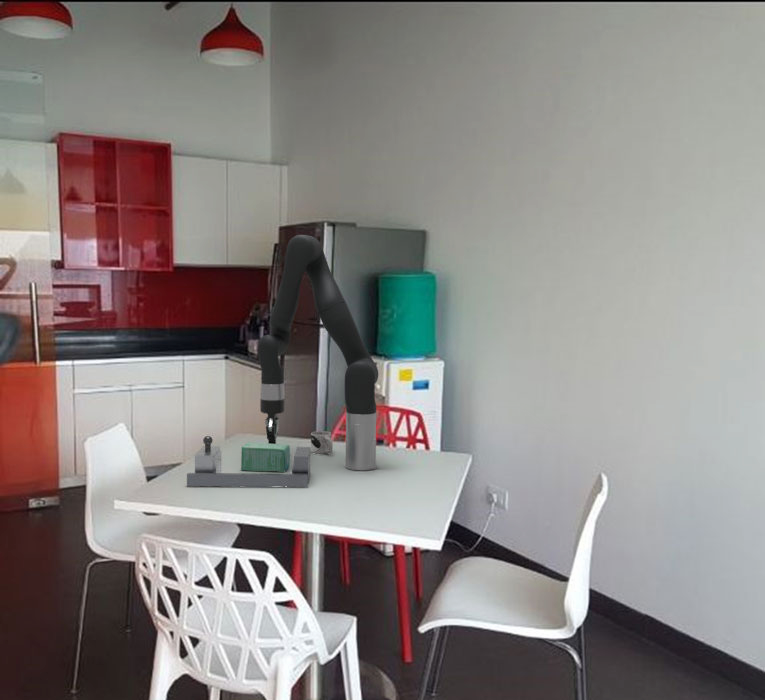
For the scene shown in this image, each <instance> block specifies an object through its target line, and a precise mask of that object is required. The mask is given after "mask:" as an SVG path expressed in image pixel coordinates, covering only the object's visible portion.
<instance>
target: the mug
mask: <svg viewBox="0 0 765 700" xmlns="http://www.w3.org/2000/svg"><path fill="white" fill-rule="evenodd" d="M333 445H334V444H333V440H332V432H331V431H325V430H318V431H317V430H316V431H312V432H311V433H310V447H311V452H312V453H315V454H326V455H329V454H328V453H330V454H332V453H333ZM312 453H311V454H312ZM315 454H314V455H315Z"/></svg>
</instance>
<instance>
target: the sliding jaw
mask: <svg viewBox="0 0 765 700" xmlns="http://www.w3.org/2000/svg"><path fill="white" fill-rule="evenodd" d="M203 444H204V445H203V446H202V447H201V448H200V449H199V450H198V451H197V453H195V454H194V473H222V471H223V470H222V469H223V467H222V465H223V464H222V463H223V462H222V458H223V457H222V453H223V451H222V450H221V446H213V445H211V444H213V437H212V436H210V435H207V436H204V437H203Z"/></svg>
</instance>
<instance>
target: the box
mask: <svg viewBox="0 0 765 700" xmlns="http://www.w3.org/2000/svg"><path fill="white" fill-rule="evenodd" d="M290 447H291V446H290V444H286V443H285V444H283V443H276V444H269V443H266V442H247V443H246V444H244V445H242V446H241V464H240V466H241V467H240V471H248V472H249V471H250V472H252V471H253V472H266V471H279V472H278V473H283V472H284V471H285V472H286V470H287V469H288V468H289V466H290V463H291V448H290ZM285 472H284V473H285Z"/></svg>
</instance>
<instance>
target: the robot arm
mask: <svg viewBox="0 0 765 700" xmlns="http://www.w3.org/2000/svg"><path fill="white" fill-rule="evenodd" d="M305 274H306V275H307V277H308V280H309V282H310V286H311V290H312V295H313V301H314V307H315V308H316V311H317V314H318V317H319V319H320V321H321V323H322V325H323V327H324V329H325V331H326V332H327V334H328V335H329V336H330V338H331V339H332V340H333V342H334V343H335V344H336V345H337V347H338V348H339V350H340V352H341V353H342V355H343V358H344V361H345V363H346V366H347V368H346V370H345V373H344V403H345V407H346V408H345V410H346V411H345V412H346V413H345V415H346V417H345V418H346V419H345V459H344V460H345V461H344V462H345V465H344V467H345V469H348V470H352V471H369V470H376V466H377V465H376V464H377V461H376V458H377V456H376V455H377V428H376V427H377V403H376V398H375V397H376V395H375V394H376V392H375V390H376V389H375V387H376V383H377V382H378V379H379V370H378V367H377V364H376V363H375V362H374V360H373V358H372V357H371V354H370V353H369V352H368V350H367V348H366V347H365V344H364V342H363V340H362V338H361V335H360V333H359V330H358V328H357V325H356V322H355V320H354V318H353V316H352V313H351V310H350V308H349V306H348V304H347V302H346V299H345V298H344V295H343V294H342V292H341V289H340V288H339V286H338V284H337V281H336V280H335V278H334V276H333V274H332V272H331V268H330V267H329V263H328V261H327V258H326V255H325V252H324V248H323V247H322V244H321V242H320V241H319V240H318V239H317V238H316V237H314V236H311V235H307V234H297V235H295V236H293V237H291V239H290V240H289V241H288V243H287V247H286V252H285V258H284V265H283V271H282V275H281V280H280V284H279V288H278V291H277V292H278V293H277V295H276V298H275V301H274V305H273V307H272V310H271V314H270V317H269V324H270V325H271V330H270V334H266V335H263V336H262V337H260V338H259V341H258V344H257V355H258V362H259V365H260V369H261V378H260V379H261V380H260V381H261V382H260V395H259V396H260V398H259V399H260V400H259V401H260V402H259V403H260V405H259V407H260V409H259V410H260V413H262V414H267V416H266V419H265V420H264V421H265V422H264V423H265V429H266V431H265V432H266V439H267V440H268V443H269V444H277V438H278V432H279V423H280V417H278V415H279V414H283V413H284V412H285V394H286V393H285V381H284V380H285V371H284V370H285V369H284V367H283V365H281V364H280V361H279V356H282V355H283V354H285V352H286V351H287V349H288V347H289V345H290V344H289V343H290V338H291V330H292V329H291V327H292V324H293V321H294V319H295V315H296V313H297V309H298V305H299V301H300V288H301V283H302V281H303V277H304V275H305Z"/></svg>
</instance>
